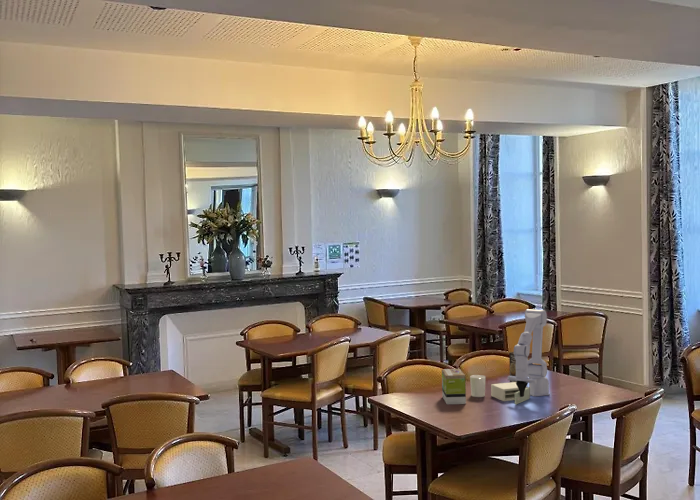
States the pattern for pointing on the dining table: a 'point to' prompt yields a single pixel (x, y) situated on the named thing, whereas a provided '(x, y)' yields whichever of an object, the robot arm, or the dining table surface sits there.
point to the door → (525, 397)
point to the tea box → (453, 386)
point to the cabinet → (504, 391)
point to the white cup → (477, 385)
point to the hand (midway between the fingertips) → (522, 396)
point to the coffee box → (512, 365)
